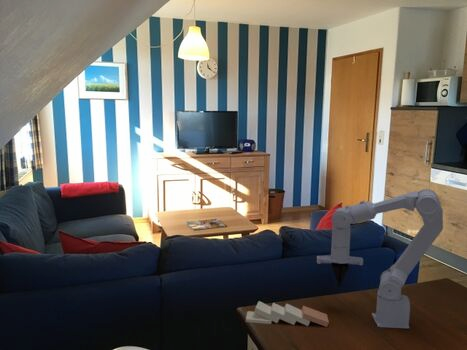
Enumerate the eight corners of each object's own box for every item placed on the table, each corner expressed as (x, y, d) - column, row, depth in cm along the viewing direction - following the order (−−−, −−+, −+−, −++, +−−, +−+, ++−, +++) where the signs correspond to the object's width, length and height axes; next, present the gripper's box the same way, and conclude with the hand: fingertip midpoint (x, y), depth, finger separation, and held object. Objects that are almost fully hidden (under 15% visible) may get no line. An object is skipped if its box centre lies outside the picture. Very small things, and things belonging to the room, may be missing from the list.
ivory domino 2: (281, 311, 130) (258, 300, 131) (279, 319, 125) (255, 307, 126) (279, 315, 130) (256, 305, 132) (277, 323, 125) (253, 311, 127)
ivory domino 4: (309, 313, 129) (286, 303, 129) (309, 321, 124) (285, 311, 124) (307, 317, 129) (284, 307, 130) (307, 326, 124) (283, 315, 125)
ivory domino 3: (296, 312, 129) (273, 302, 130) (296, 320, 124) (272, 310, 125) (294, 316, 130) (271, 306, 130) (293, 325, 125) (270, 314, 126)
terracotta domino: (326, 327, 124) (302, 317, 124) (325, 318, 129) (301, 309, 129) (328, 322, 124) (304, 313, 124) (326, 314, 128) (303, 305, 129)
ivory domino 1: (272, 313, 130) (247, 311, 131) (271, 321, 125) (245, 319, 126) (271, 317, 130) (247, 315, 131) (271, 325, 126) (245, 323, 127)
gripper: (360, 241, 133) (358, 280, 136) (316, 240, 134) (314, 278, 137) (365, 248, 126) (363, 289, 129) (319, 247, 128) (317, 287, 130)
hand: (338, 284), depth 132 cm, fingers closed
